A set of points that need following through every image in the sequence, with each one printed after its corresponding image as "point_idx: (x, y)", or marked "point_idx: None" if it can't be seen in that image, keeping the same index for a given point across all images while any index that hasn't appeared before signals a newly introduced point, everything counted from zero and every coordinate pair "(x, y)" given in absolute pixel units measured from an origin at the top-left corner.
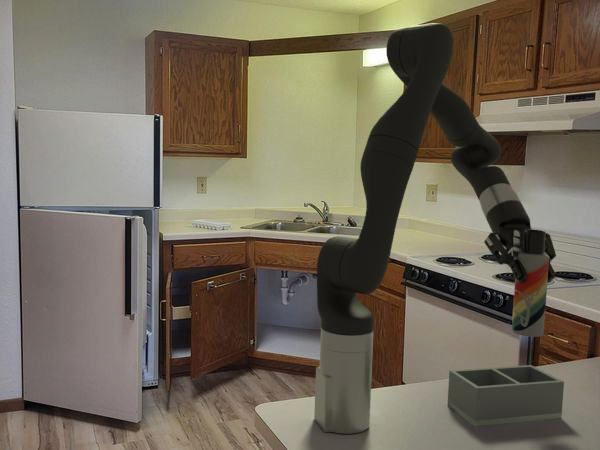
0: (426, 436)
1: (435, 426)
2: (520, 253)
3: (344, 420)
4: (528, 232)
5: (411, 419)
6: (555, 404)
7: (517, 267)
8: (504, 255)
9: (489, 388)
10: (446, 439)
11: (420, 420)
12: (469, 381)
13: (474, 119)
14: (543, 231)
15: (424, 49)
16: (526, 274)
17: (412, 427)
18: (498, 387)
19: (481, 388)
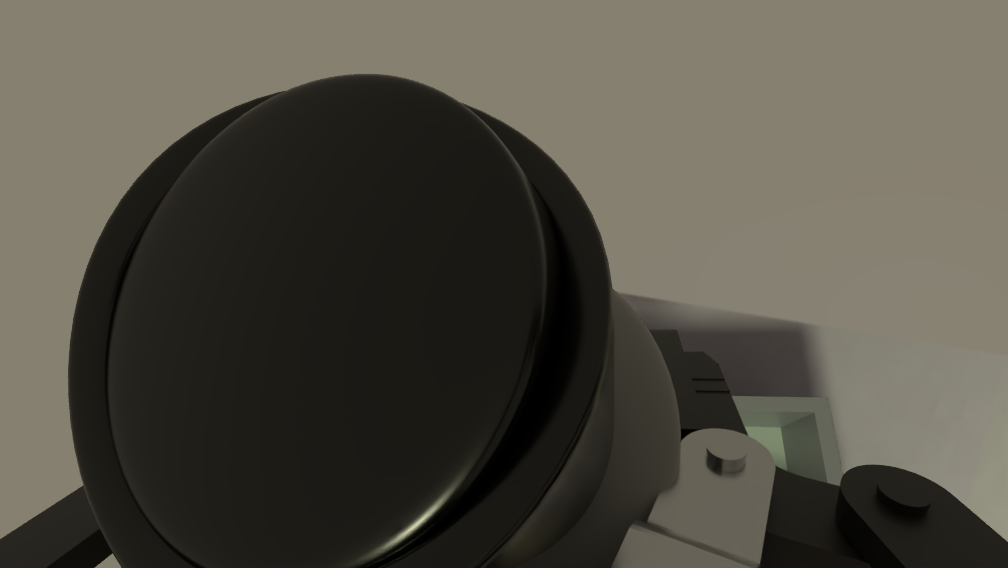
0: (959, 391)
1: (911, 443)
2: (622, 501)
3: None
4: (590, 215)
5: (983, 509)
6: None
7: (716, 400)
8: (940, 487)
9: (774, 397)
10: (902, 364)
11: (952, 494)
12: (827, 463)
13: None
14: (216, 143)
15: None
16: (654, 332)
17: (993, 453)
18: (739, 397)
19: (808, 397)
